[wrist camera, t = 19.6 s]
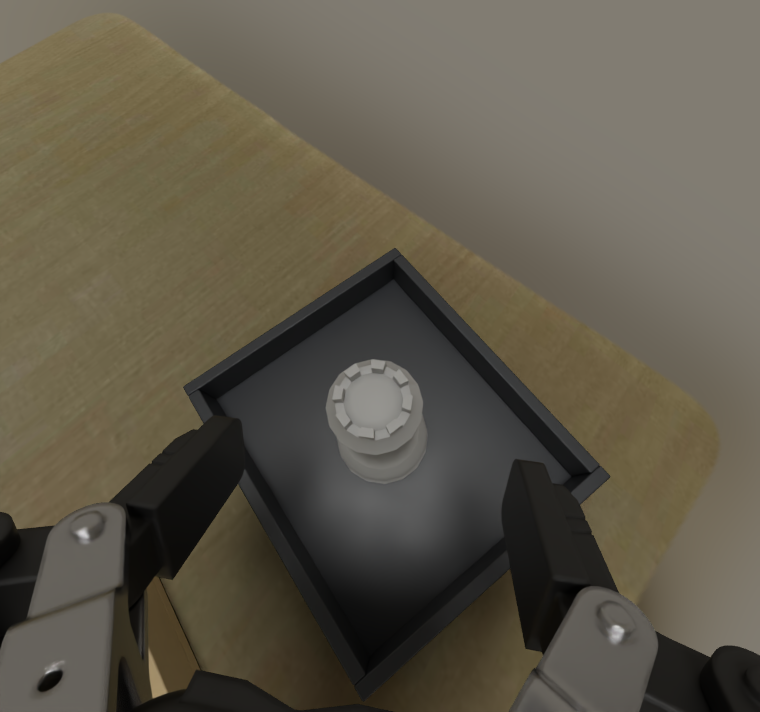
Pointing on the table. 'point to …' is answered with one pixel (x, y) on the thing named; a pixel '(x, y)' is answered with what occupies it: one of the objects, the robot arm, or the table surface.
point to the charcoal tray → (396, 499)
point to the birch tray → (167, 645)
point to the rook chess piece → (378, 420)
